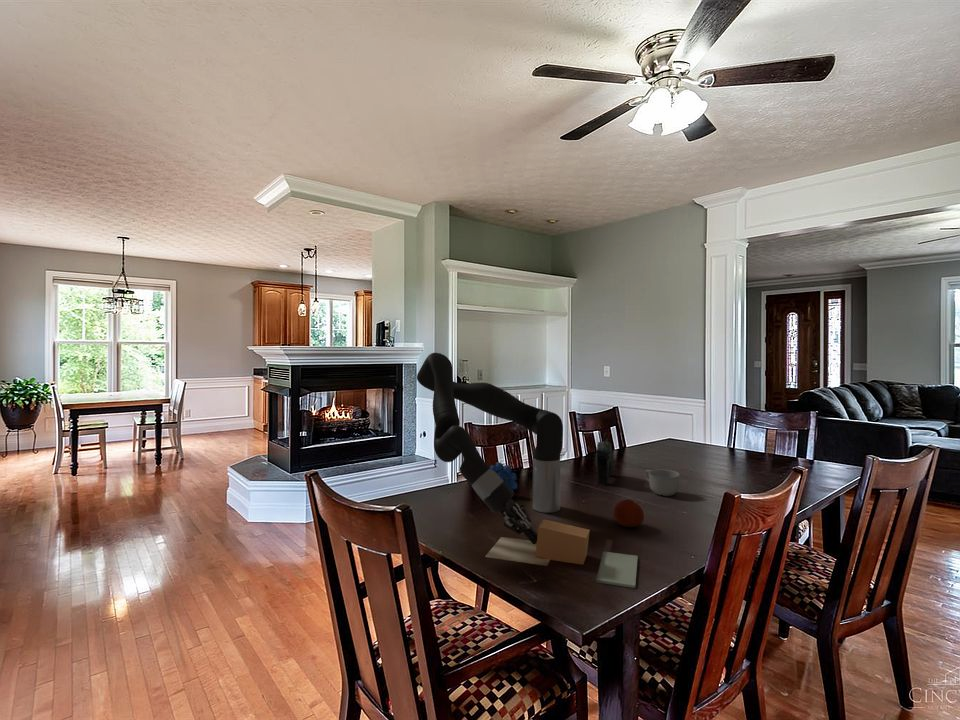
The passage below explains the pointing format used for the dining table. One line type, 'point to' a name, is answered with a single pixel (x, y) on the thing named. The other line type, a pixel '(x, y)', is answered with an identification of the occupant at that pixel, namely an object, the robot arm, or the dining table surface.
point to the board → (516, 551)
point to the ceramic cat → (604, 461)
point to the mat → (617, 569)
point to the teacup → (663, 481)
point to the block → (562, 542)
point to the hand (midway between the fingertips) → (537, 541)
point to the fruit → (628, 513)
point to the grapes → (505, 474)
